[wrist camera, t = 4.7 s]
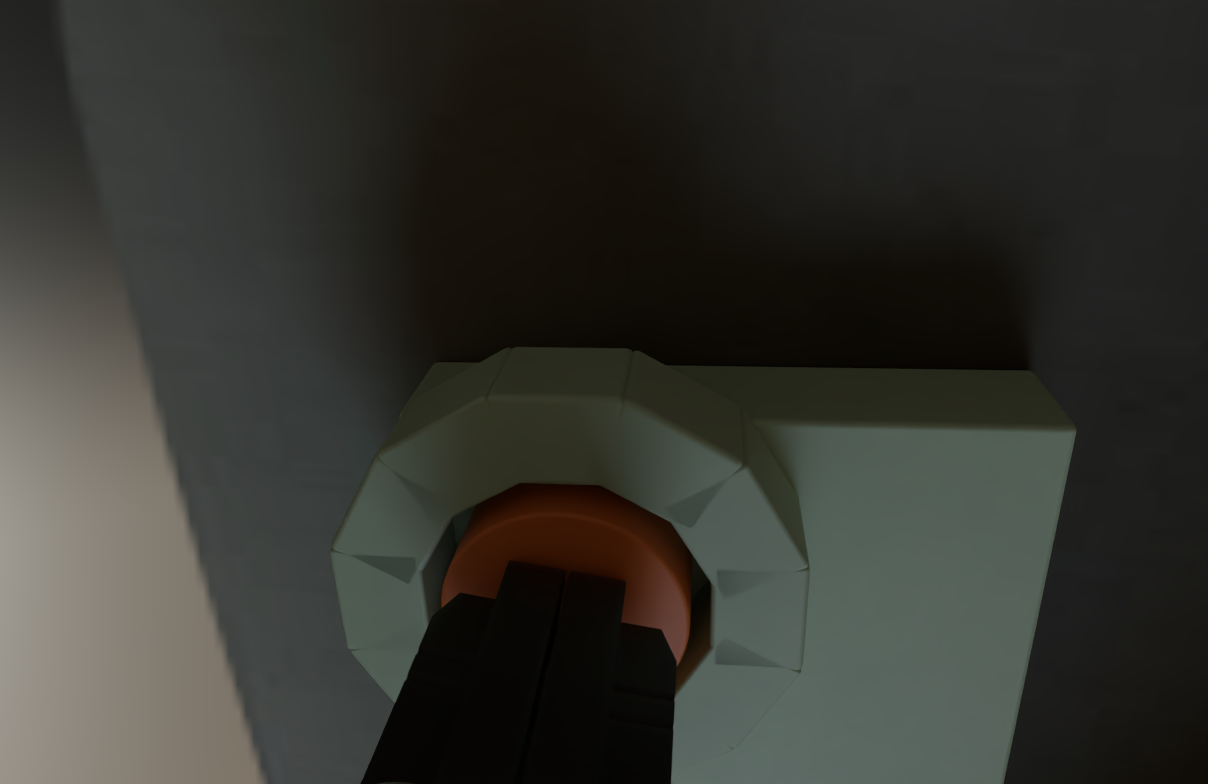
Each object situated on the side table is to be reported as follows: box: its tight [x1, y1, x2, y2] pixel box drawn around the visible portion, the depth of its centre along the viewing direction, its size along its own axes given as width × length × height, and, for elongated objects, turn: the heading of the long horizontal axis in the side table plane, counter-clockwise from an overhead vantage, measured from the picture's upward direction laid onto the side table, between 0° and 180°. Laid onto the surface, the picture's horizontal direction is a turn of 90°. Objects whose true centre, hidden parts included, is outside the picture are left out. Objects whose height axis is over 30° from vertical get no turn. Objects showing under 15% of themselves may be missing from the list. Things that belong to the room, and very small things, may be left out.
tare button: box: [441, 483, 693, 666], centre depth 12 cm, size 3×3×2 cm
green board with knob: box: [330, 347, 1076, 784], centre depth 15 cm, size 12×10×4 cm
